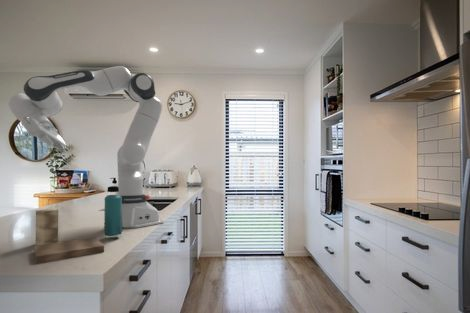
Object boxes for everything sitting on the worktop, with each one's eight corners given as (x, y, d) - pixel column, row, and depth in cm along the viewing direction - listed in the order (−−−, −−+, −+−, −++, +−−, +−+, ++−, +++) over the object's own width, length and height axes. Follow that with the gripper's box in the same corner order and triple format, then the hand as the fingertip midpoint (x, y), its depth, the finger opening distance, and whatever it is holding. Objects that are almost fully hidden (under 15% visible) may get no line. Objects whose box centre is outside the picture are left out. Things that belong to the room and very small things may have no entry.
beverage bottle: (125, 237, 109) (125, 186, 110) (107, 241, 105) (107, 187, 105) (118, 235, 114) (118, 185, 115) (101, 238, 109) (101, 186, 110)
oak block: (50, 240, 105) (50, 208, 106) (57, 242, 103) (58, 209, 103) (35, 244, 101) (35, 210, 101) (43, 246, 99) (43, 211, 99)
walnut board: (94, 242, 103) (95, 237, 103) (104, 251, 91) (104, 245, 92) (34, 252, 92) (34, 245, 92) (36, 263, 81) (36, 256, 81)
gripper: (29, 109, 106) (50, 134, 104) (58, 130, 126) (76, 151, 124) (14, 119, 105) (35, 145, 103) (45, 139, 124) (64, 161, 122)
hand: (58, 149), depth 113 cm, fingers open, 8 cm apart
